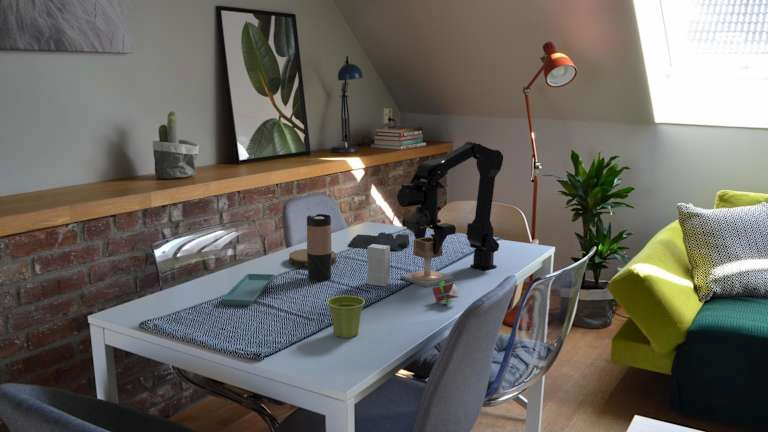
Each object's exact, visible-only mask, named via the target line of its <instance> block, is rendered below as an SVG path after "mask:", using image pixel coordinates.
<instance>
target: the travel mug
mask: <svg viewBox="0 0 768 432" xmlns="http://www.w3.org/2000/svg"><path fill="white" fill-rule="evenodd" d="M306 249H307V261H308V268H307V274H308V275H307V277H308V280H310V281H312V282H316V283H317V282H327V281H329V280H331V278H332V265H331V252H332V251H333V250H332V218H331V216H330V214H323V213H317V214H316V215H310V214H309V215H307V216H306Z"/></svg>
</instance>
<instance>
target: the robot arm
mask: <svg viewBox="0 0 768 432" xmlns="http://www.w3.org/2000/svg"><path fill="white" fill-rule="evenodd" d="M469 159H473V160H476V168H477V172H478V174H479V180H478V190H477V198H476V206H475V207H476V208H475V214H474V219H473V220H472V221H471V223H469V222H468V223H467V225H466V227H467V230H466V233H465V236H467V237H466V239H467V241H468V243H469V246H470V248H473V249H474V251H473V261H472V262H473V263H472V264H470V267H471V268H474V269H478V270H480V271H487V270H491V269H494V268H498V267H497V265H496V264H494V260H495V259H494V255H495V254H494V253H495V252H499V248H500V244H499V243H498V241H497V240H496V238H495V237H494V228H493V225H492V222H491V215H492V205H493V199H494V191H495V190H494V189H495V183H496V182H495V181H496V180H495V179H496V177H497V175H498V174H499V173H500V171H501V169H502V166H503V161H504V154H503V153H502V151H501V150H498V149H493V148H489V147H486V146H484V145H482V144H480V143H479V142H475V141H467V142H465V143H464V144H462V145H461V146H459V147H457V148H456V149H453V150H452V151H450V152H448V153H447V154H444V155H443V156H442V157H440V158H435V159H429V160H426V161H423V162H420V163H419V164H418V166H417V168H416V169H417V170H416V171H415V173H414V175H413V177H412V178H411V180H410V181H409V184H406V183H404V184H401V188H400V189H398V193H397V195H396V198H397V199H396V200H397V201H398V205H399V206H400V207H402V208H407V207H408V208H409V207H413V206H414V207H415V206H416V208H415V212H414V213H411V214H410V215H408V216H404V217H403V219H402V222H401V223H402V227H405V228H406V229H407V230H408V231H410V232H411V233H412V234H413V236H414V239H419V238H424V237H426V234H427V229H429V230H433V233H431V234H430V237H432V238H433V250H434V255H436V254H438V252H439V250H440V248H441V246H442V244H444V242H445V240H446V238H447V237H448V236H451V235H456V233H457V227H456V226H455V225H454V224H452V223H448V222H445V223H441V221H442V220H441V219H440V218H439V211H441V210H442V206H441V205H440V206H439V189H444V188H445V185H444V184H442V183H441V182H440V181H441V180H442V179H444V178H445V176H447V174H448V172H449V171H450V170H452V169H453V168H455V167H457V166H459V165H461V164H462V163H464V162H466V161H468V160H469Z"/></svg>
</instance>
